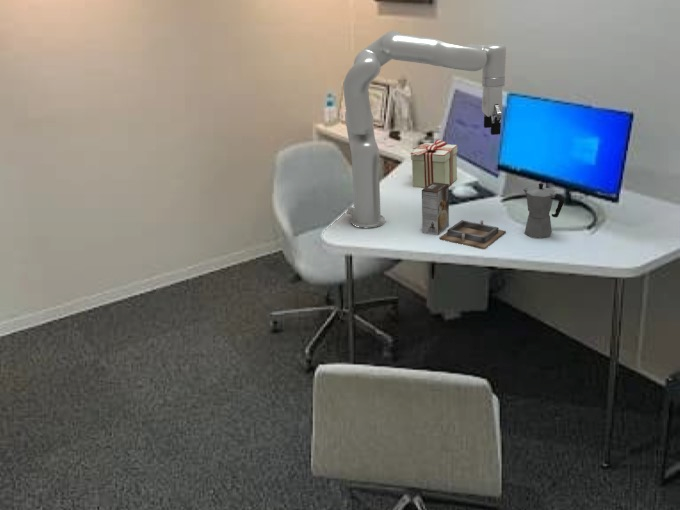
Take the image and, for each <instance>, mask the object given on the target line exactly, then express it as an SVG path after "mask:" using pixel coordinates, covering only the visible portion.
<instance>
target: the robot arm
mask: <svg viewBox="0 0 680 510" xmlns="http://www.w3.org/2000/svg"><path fill="white" fill-rule="evenodd" d="M506 55H507V47H506V45H505V44H502V43H488V44H478V43H477V44H476V43H469V44H468V43H467V44H465V45H457V44H451V43H448V42H445V41H444V40H443V41H442V40H440V39H437V38H435V37H429V36H419V35H412V34H403V33H401V32H399V31H397V30H391V31H388V32H386V33H385V34H383V35H382V36H380V37H379V38H377V39H376V40H375V41H373V42H372V43H370V44H369V45H367V46H366V47H365V48H364V49H362V50H360V51H359V52H358V53H357V55H356V56H355V57H354V59H353V65H352V66H351V68H350V69H349V70H348V71H347V73H346V75H345V78H344V80H343V87H342V88H343V99H344V105H345V106H344V107H345V113H344V120H345V124H346V125H345V126H346V131H347V138H348V143H349V148H350V153H351V163H352V164H351V168H352V169H351V173H352V189H353V191H352V193H353V194H352V195H353V207H352V206H349V207H347V211H346V214H347V215H351V218H350V224H351V223H352V224H354V225H356V226H359V227H374V228H378V227H380V225H381V226H382V225H384V224H385V223H386V218H385V216H384V215H382V214H381V191H380V189H381V188H380V149H379V146H378V144H377V141H376V137H375V130H374V116H373V113H372V108H371V101H370V93H369V91H370V90H369V89H370V85H371V83H372V82H373V81H374V80H375V79H376V78H377V77H378V76H379V74H380V73H381V68H382V67H383V66H385V65H386V64H387V63H388V62H390V61H391V60H395V61H401V62H409V63H418V64H424V65H431V66H435V67H441V68H447V69H454V70H460V71H469V72H478V71H481V70H482V73H481V74H482V82H481V84H482V85H481V87H483V88H482V89H483V90H482V98H481V100H482V101H481V112H482V113H483V115H484V116H483V128H484V129H487V128H489V129H490V135H491V136H495V135H500V134H501V125H502V124H501V123H502V120H501V119H502V118H501V116H502V112H503V87H505V84H506V83H505V81H506V59H507V57H506ZM352 224H351V225H352ZM377 226H378V227H377ZM359 227H358V228H359Z"/></svg>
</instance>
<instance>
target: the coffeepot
mask: <svg viewBox="0 0 680 510" xmlns="http://www.w3.org/2000/svg"><path fill="white" fill-rule="evenodd" d="M523 191H524V193H525V195H526V201H527V202H526V203H527V211H528V216H527V221H526V225H525V228H524V232H523V233H524V235H526V236H527V237H530V238H533V239H546V238H549V237H551V235H552V232H553V230H552V229H553V228H552V222H551V221H552V220H551V217H552V218H558V217H559V215H560V213H561V210H562V208H563V206H564V203H565V198H564V197H563V196H562V195H561V194H560V193H555V192H556V191H555V190H552V189H551V188H549V187H544V183H543V182H542V183H541V182H539V183H538V187H526V188H524V189H523ZM554 200H557V201H558V203H557V207H556V209H555V213H554V214H553V213H551V215H550V212H551V211H552V210H551V209H552V205H553V201H554Z"/></svg>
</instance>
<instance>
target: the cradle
mask: <svg viewBox="0 0 680 510" xmlns="http://www.w3.org/2000/svg"><path fill="white" fill-rule="evenodd" d="M506 233H507V231H506V230H502V229H499V227H497V226H492V225H488V224H484V219H483V220H480V223H477V222H473V221H467V220H463V219H461V220H460V221H458V222H457V223H456V224H454V225H453V226H450V228H447V230H446V232H445V233H443V234H442V235H440V236H439V238H438V239H440V240H441V241H444V240H445V242H448V241H449V243H454V244H457V243H458V245H462V244H463V246H467V247H473V248H475V249H476V248H477V249H481V250H484V249H485V250H486V249H488V248H489V247H490V246H491V245H492V244H494V243H495V242H496V241H498V240H499V239H500V238H502V237H503V236H504V235H505V234H506ZM488 246H489V247H488Z"/></svg>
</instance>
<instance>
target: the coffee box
mask: <svg viewBox="0 0 680 510" xmlns="http://www.w3.org/2000/svg"><path fill="white" fill-rule="evenodd" d="M449 200H450V186H449V184H444V183H435V182H432V183H431V184H430V185H428V186H427V187H425V188H422V189H421V216H422V217H421V220H422V221H421V222H422V223H421V225H422V226H421V227H422V228H421V231H422V233H423V234H429V235H435V236H439V235H440V234H441V233H442V232H444V231H445V230H446V229H448V227H449V226H450V221H449V220H450V218H449V217H450V203H449V202H450V201H449Z"/></svg>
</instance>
